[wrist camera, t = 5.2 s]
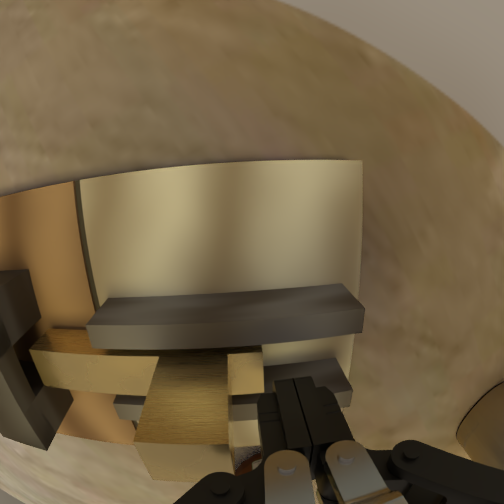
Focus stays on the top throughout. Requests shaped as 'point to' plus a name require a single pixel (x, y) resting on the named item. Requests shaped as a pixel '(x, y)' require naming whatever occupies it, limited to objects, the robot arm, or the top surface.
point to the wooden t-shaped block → (162, 396)
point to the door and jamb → (180, 282)
